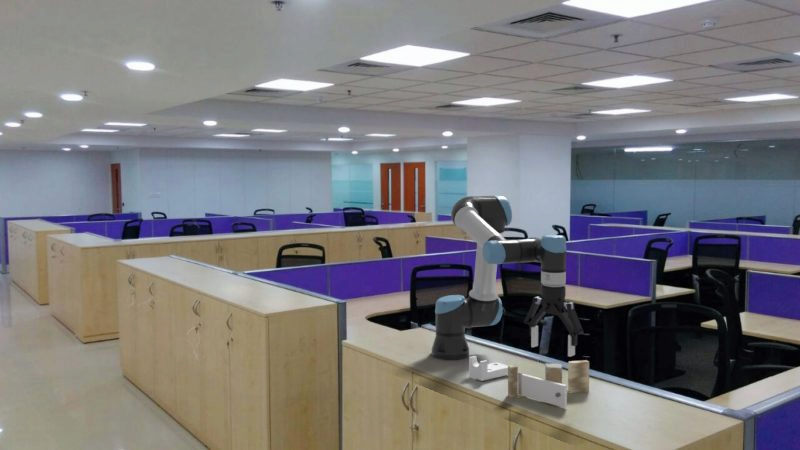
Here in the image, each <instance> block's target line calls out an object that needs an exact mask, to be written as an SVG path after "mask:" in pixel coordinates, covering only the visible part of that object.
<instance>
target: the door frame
mask: <svg viewBox="0 0 800 450" xmlns="http://www.w3.org/2000/svg"><path fill="white" fill-rule="evenodd" d="M567 363H568V365H567V368H568V369H567V371H568V373H567V374H568V376H567V378H568V379H567V380H568V381H567V382H568V383H567V384H568V385H567V395H572V394H575V393H577V394H578V393H589V392H590V361H589V360H587V359H585V360H584V359H583V360H571V361H570V360H569V361H568V362H567ZM507 366H508V375H507V390H508V391H507V396H508V397H509V398H510V399H512V398H513V399H514V398H519V399H520V398H526V397H525V396H522V395H519V394H518V372H519V367H518V366H517V365H516V364H507Z"/></svg>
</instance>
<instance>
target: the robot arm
mask: <svg viewBox="0 0 800 450" xmlns="http://www.w3.org/2000/svg"><path fill="white" fill-rule="evenodd" d="M450 218H451V221H452V223H453V225H454V226H455V227H456V228H457V229H458V230H459V231H462V232H465V233H466V234H467V236H469V237H470V238H471V239H472V240H473V241H474V242H476V253H475V255H476V256H475V264H474V265H475V266H474V274H473V275H474V277H473V287H472V289H470V290H469V292H468V297H467V298H465V296H464V295H461V294H452V295H451V294H449V295H445V296H441V297H439V298H438V299H437V300H436V301H435V309H434V313H435V337H434V341H433V344H432V347H431V356H432V357H434V358H437V359H441V360H448V361H449V360H461V359H462V360H463V359H465V358H469V357H470V347H469V345H468V341H467V338H466V329H467V328H474V327H475V328H477V327H478V328H479V327H489V326H494V325H497V324H498V323H499V322H501V318H502V315H503V303H502V300H501V298H500V297H499V294H498V292H496V291H495V289H496V280H497V269H498V265H501V264H517V263H532V262H533V263H534V262H535V263H540V283H541V285H540V296H539V295H538V296H534V297H532V302H531V303H532V304H531V305H530V307H529V310H528V312H527V313H526V316H525V319H524V320H523V323H524V324H527V325H528V326H529V336H530V337H531V338H530V341H531V342H530V347H531V348H535V347H538V346H539V325H538V323H539V322H541V320H542V319H543V317H544V316H545V315H546V314H548V315H554V316H557V317H558V318H559V319H560V320H561V322H562V324H563V325H564V327H565V328H566V330H567V331H568V333H569V334H568V335H567V357H573V356H575V355H576V346H577V345H578V335H582V334H584V329H583V326H582V323H581V322H580V319H579V317H578V315H577V312H576V309H575V303H574V301H570V302H566V292H567V291H566V288H567V287H566V286H565V285H566V283H567V282H566V280H567V275H566V274H567V268H566V267H567V239H566V237H565V236H564V235H559V234H546V235H545V234H544V235H543V236H542V237H541V238H539V237H535V236H534V237H527V238H524V239H506V238H505V237H504V236H503V235H502V234H504V233H505V232H506V231H505V230H506V229H505V228H506V227H508V226H510V224H511V223H512V219H513V211H512V207H511V204H510V202H509V200H508V199H507V198H506V197H505V196H503V195H478V196H477V195H475V196H473V195H472V196H464V197H462V198H460V199H459V200H457V201H456V202H455V204H454V205H453V206H452V209H451V214H450ZM540 305H541V306H542V307H541V308H540V309H539V311H538V308H539V307H540ZM537 311H538V312H537Z"/></svg>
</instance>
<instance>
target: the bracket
mask: <svg viewBox="0 0 800 450" xmlns="http://www.w3.org/2000/svg"><path fill="white" fill-rule="evenodd" d="M477 357H478V356H476V355H472V356H468V377H469V378H471V379H472V380H474V381H476V380H477V381H478V380H479V381H481V382H482V381H486V380H487V381H488V380H492V379H495V378H496V379H497V378H501V377H504V376H508V364H504V363H502V362H499V361H497V362H492V363H491V362H490V363H488V360H486V359H485V360H480V361H479V362H478V359H477Z"/></svg>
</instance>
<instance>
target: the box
mask: <svg viewBox="0 0 800 450" xmlns="http://www.w3.org/2000/svg"><path fill="white" fill-rule="evenodd" d="M544 379H545V380H549V381H553V382H557V383H561V384H563V365H562V364H561V363H547V362H545V364H544Z"/></svg>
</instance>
